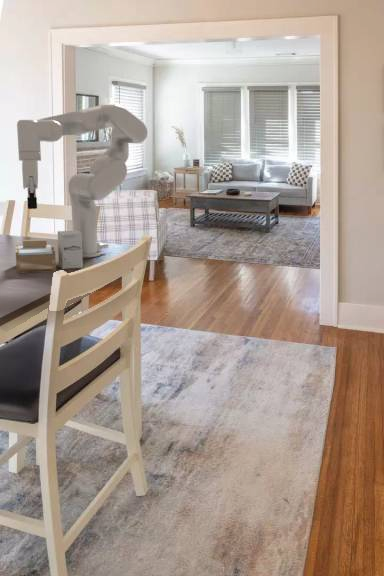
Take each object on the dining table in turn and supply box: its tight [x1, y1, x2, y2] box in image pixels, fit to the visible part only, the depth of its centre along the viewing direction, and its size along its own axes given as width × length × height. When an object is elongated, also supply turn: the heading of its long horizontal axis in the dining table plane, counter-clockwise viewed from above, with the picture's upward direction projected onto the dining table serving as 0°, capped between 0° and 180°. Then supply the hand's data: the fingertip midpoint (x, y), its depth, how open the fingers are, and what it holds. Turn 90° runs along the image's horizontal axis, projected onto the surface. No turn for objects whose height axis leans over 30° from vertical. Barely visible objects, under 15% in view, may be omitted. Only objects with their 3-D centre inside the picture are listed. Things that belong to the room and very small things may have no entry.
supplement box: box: [57, 230, 84, 270], centre depth 205 cm, size 7×7×13 cm
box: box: [15, 244, 57, 274], centre depth 203 cm, size 13×13×7 cm
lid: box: [18, 239, 53, 255], centre depth 202 cm, size 13×11×3 cm
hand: (32, 208), depth 207 cm, fingers closed
